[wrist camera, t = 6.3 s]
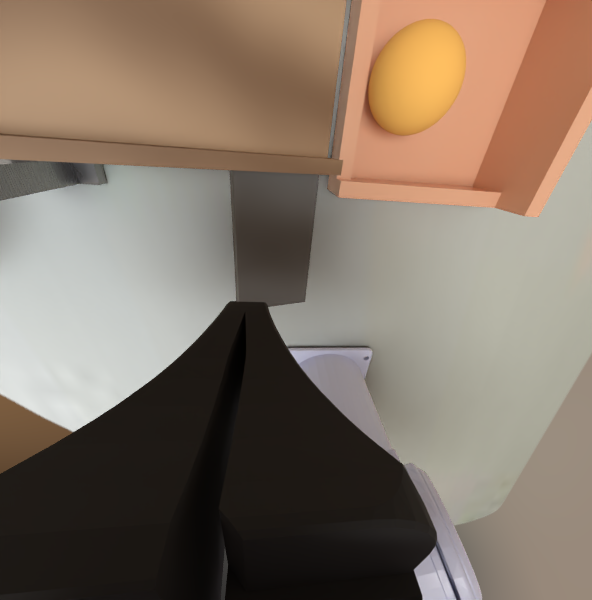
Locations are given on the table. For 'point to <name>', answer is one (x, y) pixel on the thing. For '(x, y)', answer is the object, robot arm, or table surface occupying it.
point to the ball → (417, 77)
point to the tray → (472, 105)
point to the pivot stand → (45, 176)
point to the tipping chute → (187, 106)
